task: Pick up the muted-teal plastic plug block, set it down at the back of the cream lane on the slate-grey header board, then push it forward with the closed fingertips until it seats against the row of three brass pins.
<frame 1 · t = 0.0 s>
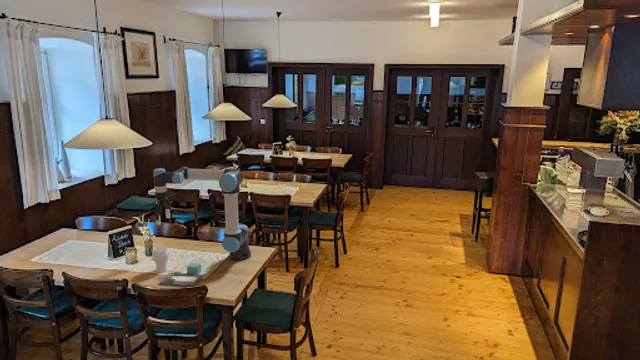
hand: (163, 221, 305), 28 cm above the table, fingers open, 13 cm apart
cup: (162, 270, 296), on the table
plug block: (194, 273, 291), on the table
header board: (181, 280, 281), on the table
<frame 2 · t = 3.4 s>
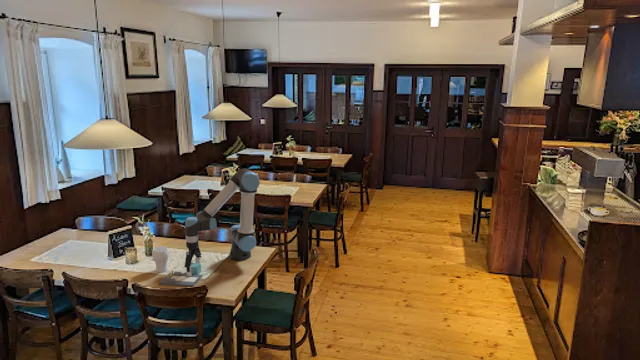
hand: (193, 271, 291), 1 cm above the table, fingers open, 13 cm apart
nothing on the table moved.
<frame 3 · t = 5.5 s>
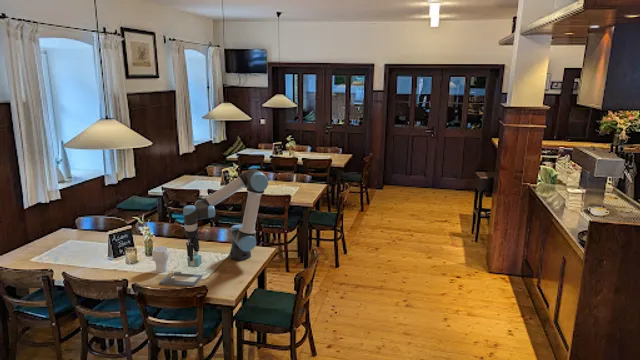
hand: (194, 262, 290), 7 cm above the table, fingers closed on plug block, 5 cm apart
plug block: (194, 265, 290), point 6 cm above the table, touching gripper
everything else where it was.
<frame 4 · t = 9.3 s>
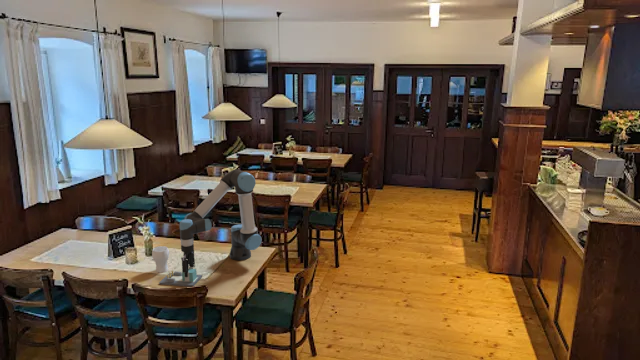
hand: (189, 278, 280), 2 cm above the table, fingers closed on plug block, 5 cm apart
plug block: (189, 279, 280), point 1 cm above the table, touching gripper, header board
everything else where it was.
when the fingers open (2 cm above the table, at t = 9.5 s): plug block stays where it is, resting on header board.
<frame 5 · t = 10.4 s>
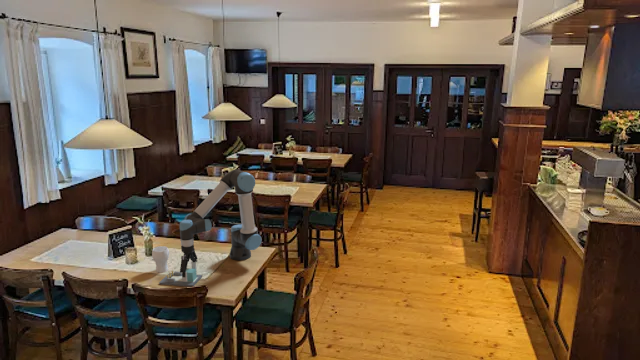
hand: (189, 276, 280), 3 cm above the table, fingers open, 13 cm apart
plug block: (189, 279, 280), point 1 cm above the table, touching header board
everything else where it was.
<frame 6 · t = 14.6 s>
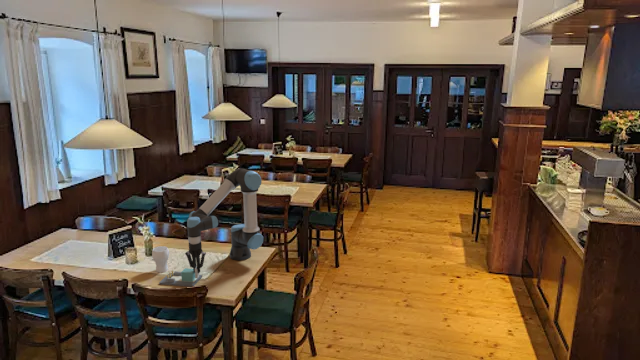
hand: (197, 277, 279), 3 cm above the table, fingers closed
plug block: (189, 279, 280), point 1 cm above the table, touching gripper, header board
everything else where it was.
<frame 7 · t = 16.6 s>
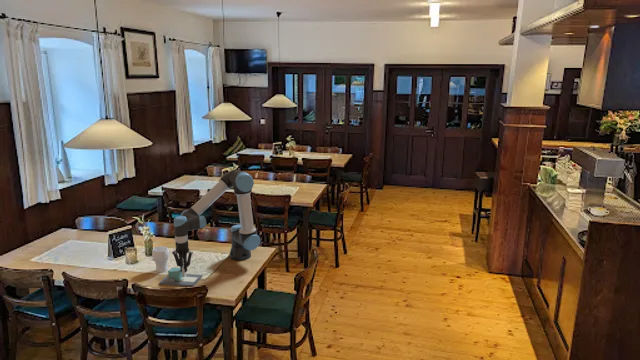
hand: (184, 276, 280), 3 cm above the table, fingers closed
plug block: (176, 278, 281), point 1 cm above the table, touching gripper, header board
everything else where it was.
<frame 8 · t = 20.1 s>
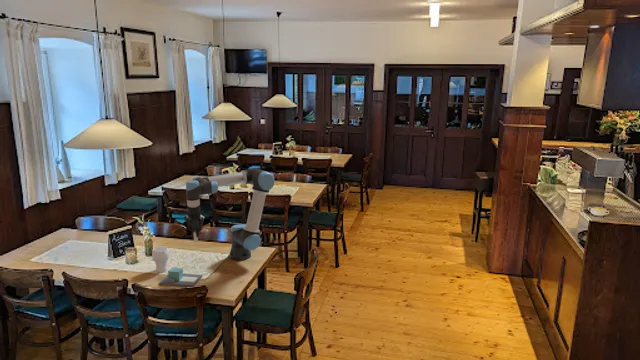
hand: (196, 241, 280), 24 cm above the table, fingers closed
plug block: (176, 278, 281), point 1 cm above the table, touching header board
everything else where it was.
at the end: plug block 0.7 cm from the target spot on the header board, point 1.3 cm above the header board's base; plug block tilted 0° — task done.
